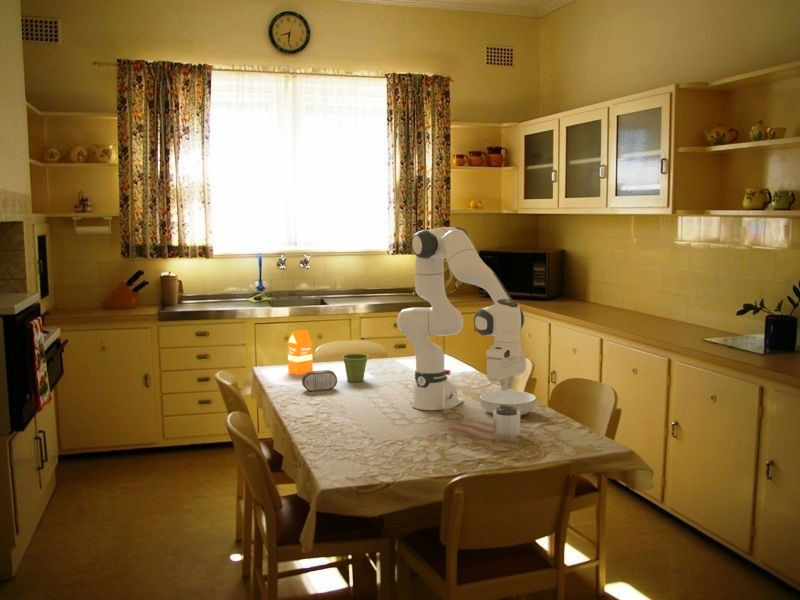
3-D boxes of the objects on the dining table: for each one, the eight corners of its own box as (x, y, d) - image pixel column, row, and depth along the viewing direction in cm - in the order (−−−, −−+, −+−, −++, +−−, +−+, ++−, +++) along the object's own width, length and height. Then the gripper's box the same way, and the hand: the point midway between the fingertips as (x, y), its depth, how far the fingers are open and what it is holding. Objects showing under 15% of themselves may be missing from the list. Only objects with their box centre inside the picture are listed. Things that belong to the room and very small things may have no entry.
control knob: (502, 416, 257) (502, 401, 256) (520, 419, 253) (520, 404, 252) (492, 421, 251) (492, 405, 251) (510, 424, 247) (510, 409, 247)
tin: (336, 388, 326) (336, 368, 325) (338, 389, 323) (337, 370, 322) (302, 391, 321) (301, 371, 320) (303, 392, 318) (303, 373, 317)
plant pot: (344, 384, 332) (344, 359, 330) (340, 378, 343) (340, 354, 342) (371, 382, 334) (370, 358, 333) (366, 377, 346) (365, 353, 344)
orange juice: (288, 372, 357) (287, 330, 354) (303, 369, 363) (302, 328, 360) (297, 374, 351) (296, 332, 349) (313, 371, 357) (312, 330, 355)
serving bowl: (524, 405, 295) (524, 388, 294) (543, 420, 275) (544, 402, 274) (473, 408, 292) (473, 391, 291) (488, 423, 271) (488, 405, 270)
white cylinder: (501, 429, 259) (501, 406, 258) (524, 434, 254) (525, 410, 252) (487, 435, 252) (488, 412, 251) (511, 440, 246) (511, 417, 245)
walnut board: (469, 423, 271) (469, 419, 271) (533, 436, 256) (533, 432, 255) (443, 434, 259) (443, 430, 259) (510, 448, 243) (510, 444, 243)
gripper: (514, 343, 259) (514, 382, 261) (483, 352, 243) (482, 394, 245) (530, 345, 255) (530, 384, 257) (500, 354, 239) (499, 397, 241)
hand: (506, 389), depth 251 cm, fingers closed
